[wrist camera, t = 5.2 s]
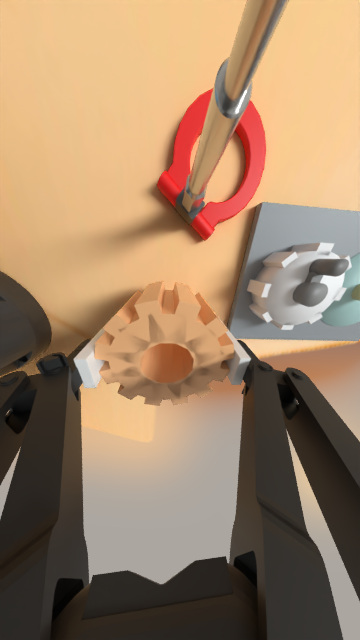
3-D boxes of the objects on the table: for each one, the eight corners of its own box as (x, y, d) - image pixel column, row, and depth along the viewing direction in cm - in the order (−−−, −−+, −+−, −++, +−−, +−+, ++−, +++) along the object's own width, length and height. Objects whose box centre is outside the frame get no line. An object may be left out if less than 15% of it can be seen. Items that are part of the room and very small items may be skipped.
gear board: (225, 334, 21) (249, 370, 14) (256, 205, 14) (332, 159, 7) (350, 337, 22) (423, 370, 16) (436, 222, 15) (629, 198, 9)
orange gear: (128, 359, 17) (109, 407, 12) (116, 278, 13) (75, 296, 7) (204, 359, 18) (219, 403, 13) (219, 283, 13) (251, 303, 8)
